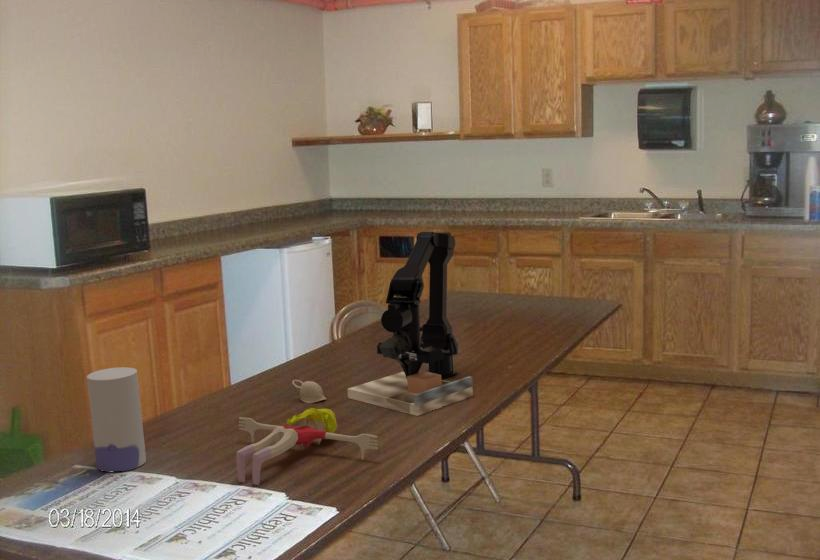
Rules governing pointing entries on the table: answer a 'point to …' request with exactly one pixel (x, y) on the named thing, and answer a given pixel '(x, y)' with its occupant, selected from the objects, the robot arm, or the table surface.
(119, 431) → the container
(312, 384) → the beige domed piece
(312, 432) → the toy
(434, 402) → the tray
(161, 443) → the table surface
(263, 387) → the table surface
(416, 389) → the terracotta block
